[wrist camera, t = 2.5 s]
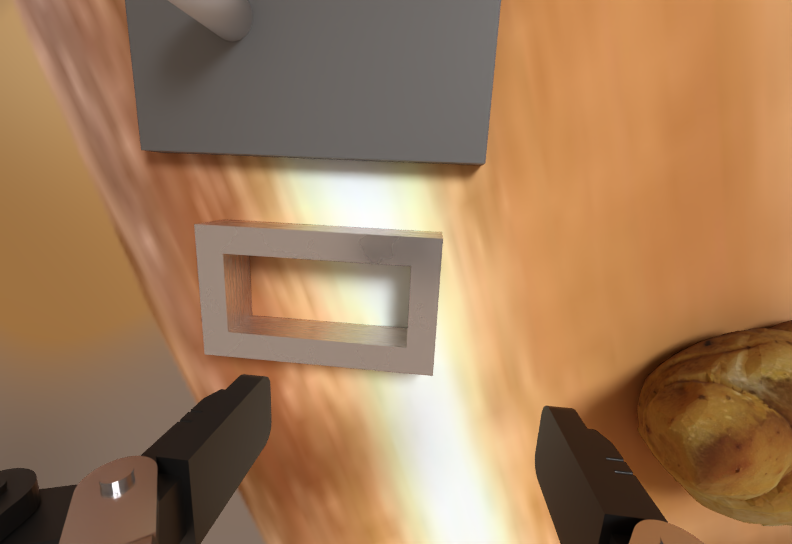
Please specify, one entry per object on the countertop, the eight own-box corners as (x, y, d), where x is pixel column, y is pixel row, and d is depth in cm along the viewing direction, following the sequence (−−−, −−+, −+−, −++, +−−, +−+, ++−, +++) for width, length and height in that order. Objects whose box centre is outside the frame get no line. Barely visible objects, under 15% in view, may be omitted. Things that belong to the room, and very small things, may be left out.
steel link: (442, 232, 22) (442, 238, 19) (433, 353, 24) (432, 375, 21) (223, 219, 24) (194, 223, 21) (231, 335, 25) (204, 354, 23)
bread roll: (813, 272, 21) (1040, 322, 13) (867, 410, 22) (1100, 530, 14) (592, 366, 23) (671, 455, 16) (653, 484, 25) (752, 620, 17)
